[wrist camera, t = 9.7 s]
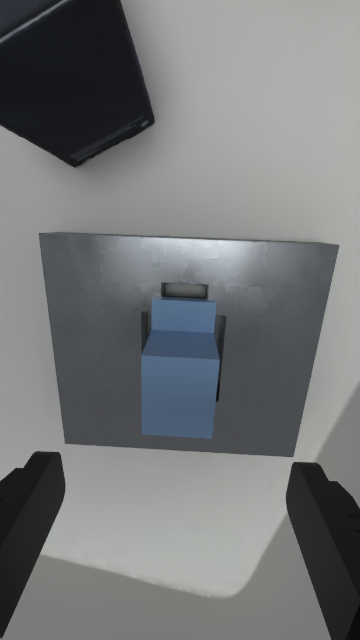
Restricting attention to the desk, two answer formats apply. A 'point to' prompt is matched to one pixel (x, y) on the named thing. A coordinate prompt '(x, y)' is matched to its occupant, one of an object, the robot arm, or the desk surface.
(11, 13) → the small box
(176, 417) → the block
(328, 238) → the desk surface
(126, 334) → the plate
